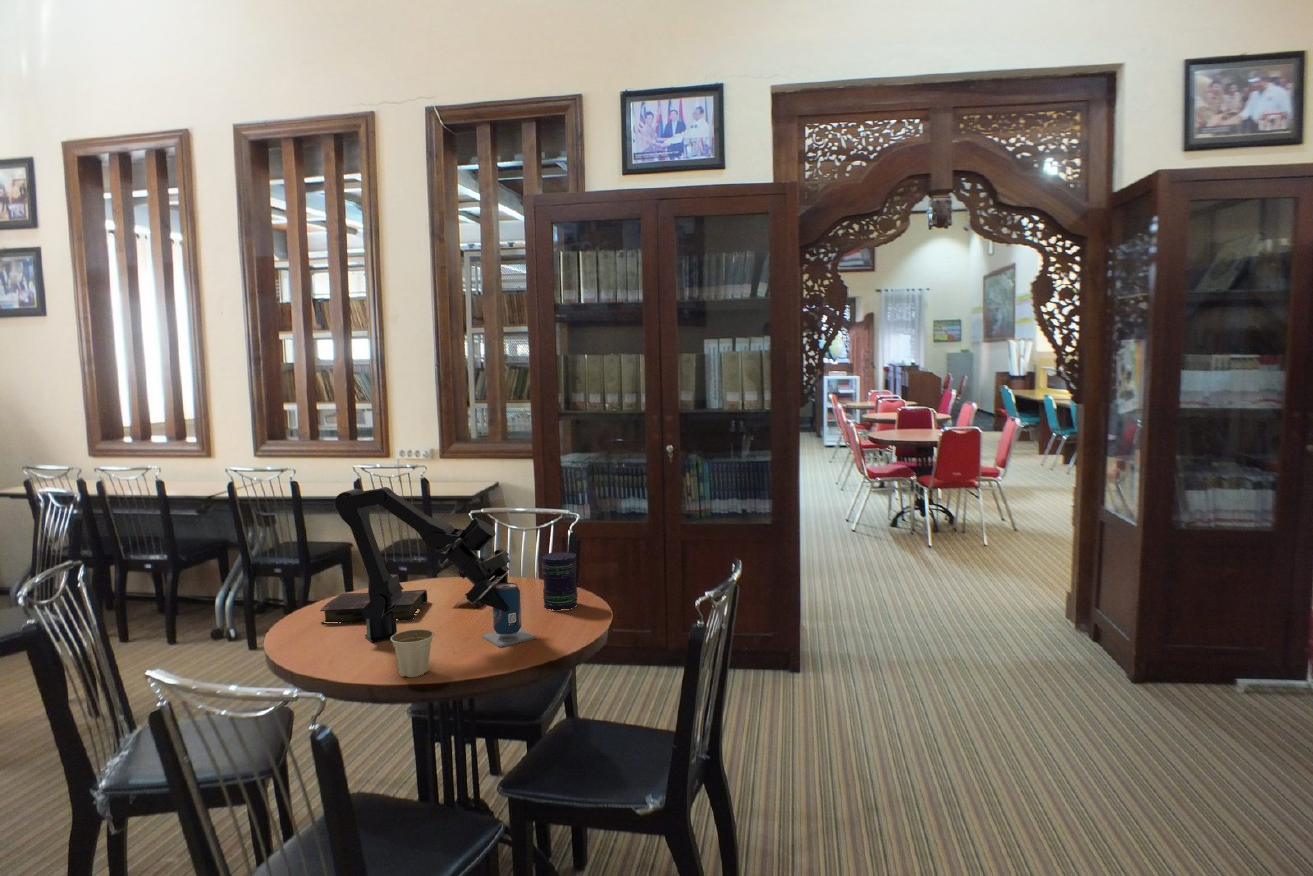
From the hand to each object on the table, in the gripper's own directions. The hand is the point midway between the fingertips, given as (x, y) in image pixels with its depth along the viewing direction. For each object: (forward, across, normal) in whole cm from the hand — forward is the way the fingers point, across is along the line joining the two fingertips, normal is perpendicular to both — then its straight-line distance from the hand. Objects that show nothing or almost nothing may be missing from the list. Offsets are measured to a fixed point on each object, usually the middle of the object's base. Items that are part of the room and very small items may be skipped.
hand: (511, 606), depth 195 cm
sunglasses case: (-9, +34, +22) cm, 41 cm away
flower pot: (-5, -24, +18) cm, 30 cm away
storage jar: (+10, +27, +2) cm, 29 cm away
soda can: (+4, 0, +6) cm, 7 cm away
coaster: (+5, 0, +7) cm, 8 cm away
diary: (-26, +20, +40) cm, 52 cm away
